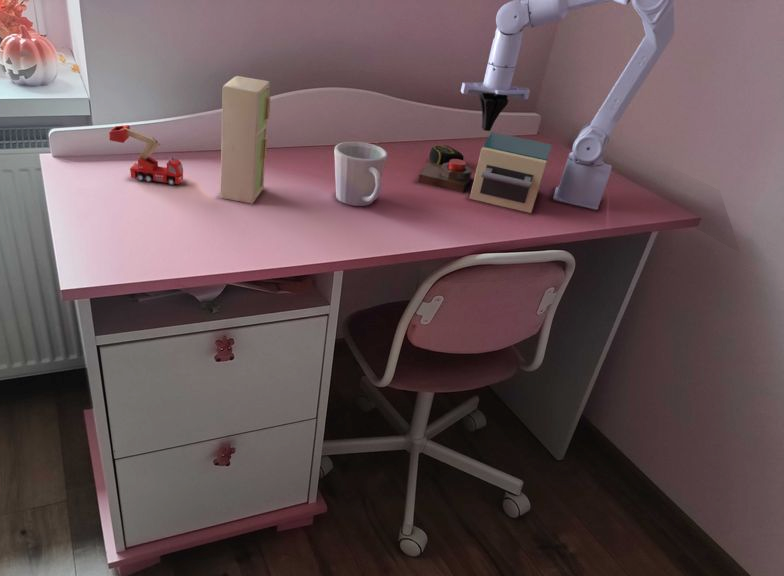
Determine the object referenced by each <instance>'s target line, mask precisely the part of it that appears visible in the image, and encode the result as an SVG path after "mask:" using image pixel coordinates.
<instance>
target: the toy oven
mask: <svg viewBox="0 0 784 576" xmlns="http://www.w3.org/2000/svg"><path fill="white" fill-rule="evenodd" d="M483 147H486V148H491V149H495V150H500V151H505V152H509V153H514V154H518V155H523V156H528V157H532V158H537V159H542V160H546V161H547V163H548V160H549V157H550V154H551V151H552V147H553V144H551V143H546V142H543V141H542V142H541V141H537V140H534V139H533V140H532V139H527V138H523V137H517V136H513V135H508V134H504V133H499V132H494V131H490V134H489V135H488V137H487V139H486V140H485V142H484V144H483V146H482V148H483ZM547 163H546V166H545V168H546V167H547ZM544 173H545V172H544ZM544 173H543V176H542V179H541V181H542V180H543V177H544ZM541 183H542V182H541ZM541 183H540V186H541ZM540 186H539V189H538V191H539V190H540ZM537 197H538V195H537V196H536V199H537ZM536 199H535V202H534V204H535V203H536Z"/></svg>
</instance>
